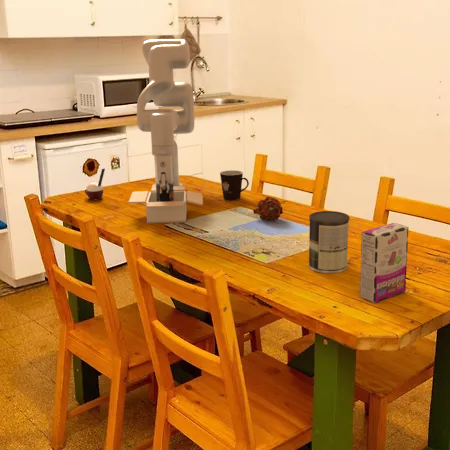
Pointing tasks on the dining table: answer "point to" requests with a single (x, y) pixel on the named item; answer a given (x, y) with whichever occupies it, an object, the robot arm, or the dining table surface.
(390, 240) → the candy bar box
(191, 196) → the flap
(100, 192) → the cocoa
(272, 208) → the dark red rounded piece
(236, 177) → the coffee mug
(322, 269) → the coffee can
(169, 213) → the carton
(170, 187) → the pill bottle
